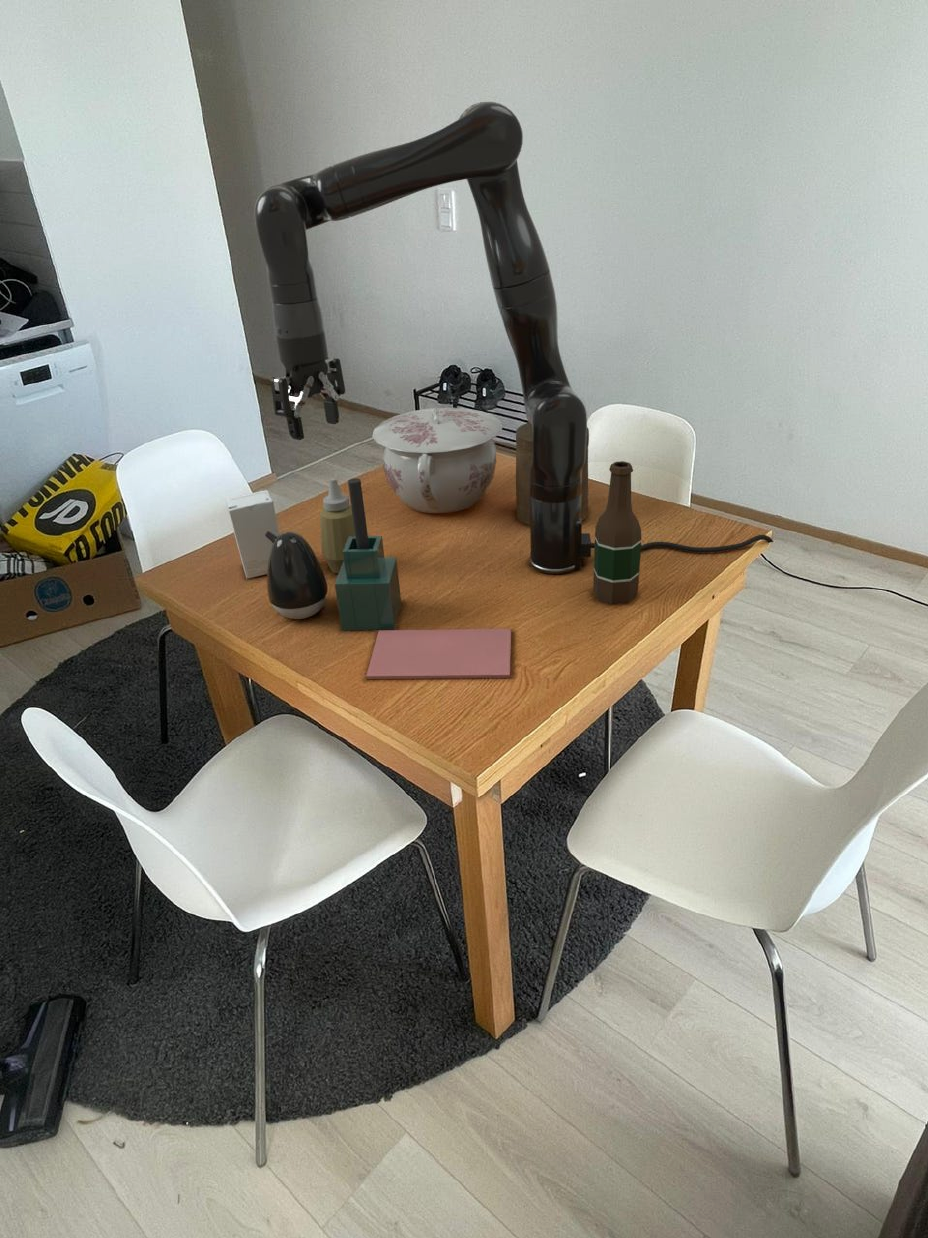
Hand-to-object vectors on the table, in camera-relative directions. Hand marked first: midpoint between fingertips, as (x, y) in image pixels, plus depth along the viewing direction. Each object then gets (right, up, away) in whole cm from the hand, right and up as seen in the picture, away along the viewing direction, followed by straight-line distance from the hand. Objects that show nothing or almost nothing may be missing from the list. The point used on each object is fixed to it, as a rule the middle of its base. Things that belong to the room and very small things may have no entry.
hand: (315, 430), depth 137 cm
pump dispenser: (-4, -30, +8) cm, 31 cm away
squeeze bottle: (+2, -21, +21) cm, 30 cm away
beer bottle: (+51, -27, +7) cm, 58 cm away
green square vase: (+9, -31, +5) cm, 32 cm away
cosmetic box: (-14, -22, +23) cm, 35 cm away
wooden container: (+43, -9, +37) cm, 57 cm away
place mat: (+21, -37, -6) cm, 43 cm away
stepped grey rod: (+9, -31, +5) cm, 32 cm away
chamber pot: (+20, -5, +46) cm, 50 cm away
